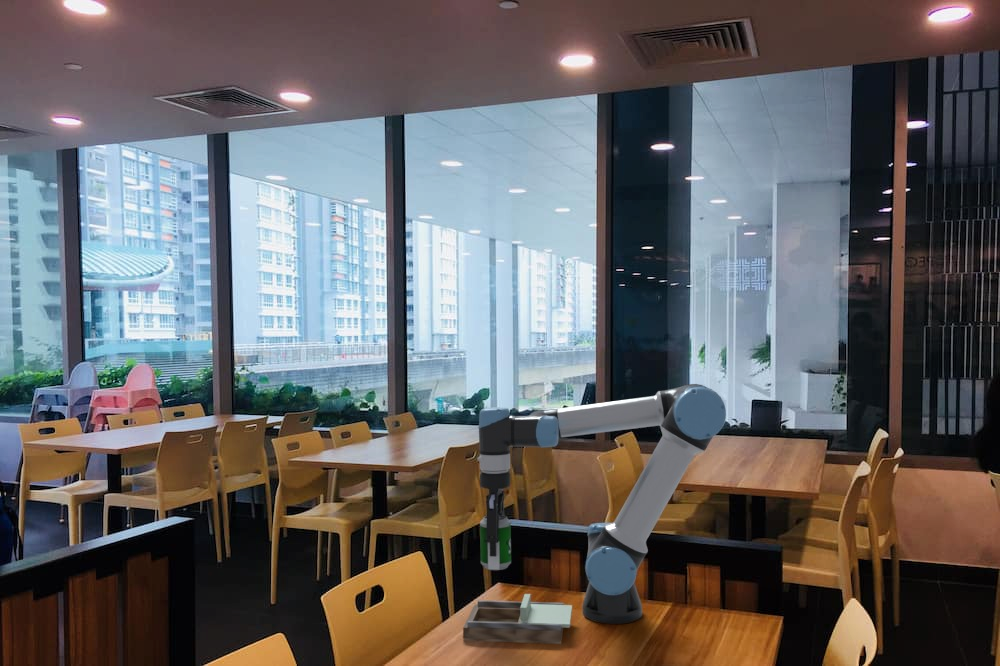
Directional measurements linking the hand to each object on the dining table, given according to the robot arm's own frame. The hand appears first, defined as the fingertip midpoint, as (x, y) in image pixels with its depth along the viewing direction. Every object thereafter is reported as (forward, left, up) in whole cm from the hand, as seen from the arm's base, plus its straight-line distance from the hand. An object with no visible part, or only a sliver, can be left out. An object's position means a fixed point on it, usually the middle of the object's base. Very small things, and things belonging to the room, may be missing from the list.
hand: (496, 563), depth 189 cm
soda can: (0, 0, -1) cm, 1 cm away
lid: (-12, 0, -13) cm, 17 cm away
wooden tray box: (-5, 0, -16) cm, 16 cm away
